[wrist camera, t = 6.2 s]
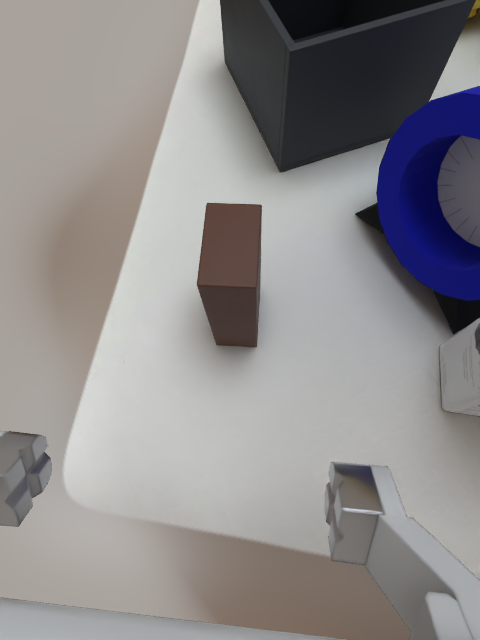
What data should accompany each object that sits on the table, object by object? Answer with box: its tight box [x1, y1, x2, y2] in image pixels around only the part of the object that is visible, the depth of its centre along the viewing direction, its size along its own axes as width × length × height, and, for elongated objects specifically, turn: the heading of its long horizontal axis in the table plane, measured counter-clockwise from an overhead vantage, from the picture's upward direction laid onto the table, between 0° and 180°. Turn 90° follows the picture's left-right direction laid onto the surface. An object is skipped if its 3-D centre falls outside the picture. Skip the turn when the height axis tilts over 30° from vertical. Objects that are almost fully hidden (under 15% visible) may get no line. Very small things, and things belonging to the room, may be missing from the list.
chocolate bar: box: [197, 203, 262, 347], centre depth 25 cm, size 3×5×10 cm, turn 176°
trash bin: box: [220, 0, 476, 172], centre depth 32 cm, size 15×13×11 cm
